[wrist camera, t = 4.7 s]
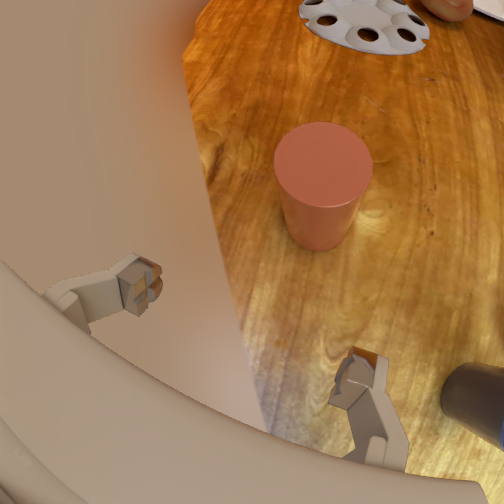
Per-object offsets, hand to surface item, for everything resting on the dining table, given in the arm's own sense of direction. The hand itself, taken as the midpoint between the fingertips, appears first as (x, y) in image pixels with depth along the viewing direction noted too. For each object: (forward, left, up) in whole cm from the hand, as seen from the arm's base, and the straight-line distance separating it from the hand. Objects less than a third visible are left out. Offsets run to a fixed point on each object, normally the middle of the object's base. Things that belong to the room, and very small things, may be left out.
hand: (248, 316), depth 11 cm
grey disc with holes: (+33, +26, -13) cm, 44 cm away
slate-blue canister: (+10, -16, -13) cm, 23 cm away
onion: (+48, +22, -13) cm, 55 cm away
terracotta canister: (+7, +5, -13) cm, 16 cm away
